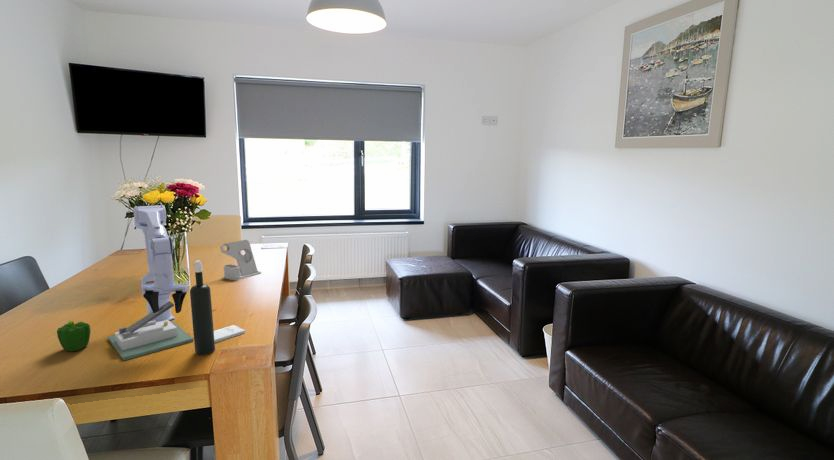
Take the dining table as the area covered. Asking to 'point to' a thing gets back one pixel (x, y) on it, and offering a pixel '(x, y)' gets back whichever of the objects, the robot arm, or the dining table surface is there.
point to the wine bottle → (202, 314)
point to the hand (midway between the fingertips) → (167, 312)
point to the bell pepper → (74, 335)
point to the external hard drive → (227, 333)
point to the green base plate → (148, 339)
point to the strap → (148, 318)
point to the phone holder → (239, 260)
